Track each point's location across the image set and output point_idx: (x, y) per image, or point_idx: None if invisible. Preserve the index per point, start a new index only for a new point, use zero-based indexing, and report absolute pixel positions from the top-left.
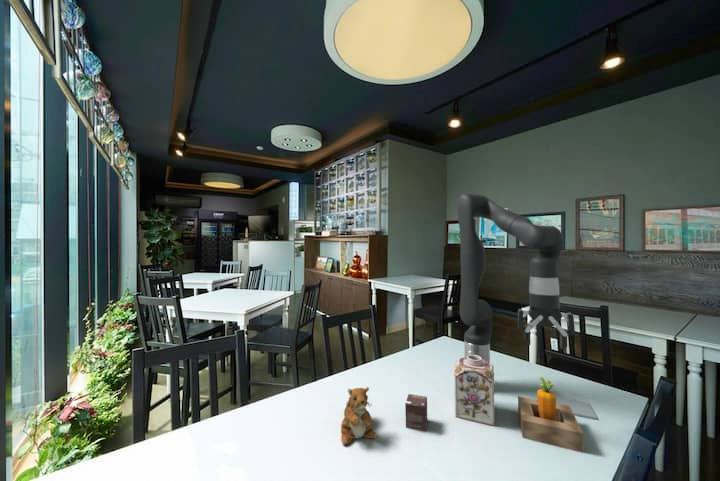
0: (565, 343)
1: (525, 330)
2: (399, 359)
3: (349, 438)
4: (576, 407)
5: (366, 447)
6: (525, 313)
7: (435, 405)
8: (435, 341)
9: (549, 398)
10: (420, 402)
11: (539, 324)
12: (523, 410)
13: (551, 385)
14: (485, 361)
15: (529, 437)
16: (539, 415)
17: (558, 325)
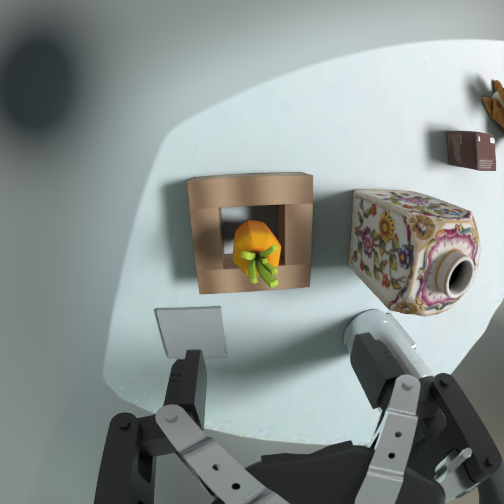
0: (178, 375)
1: (415, 382)
2: (466, 342)
3: (497, 85)
4: (187, 332)
5: (481, 81)
6: (454, 478)
7: None
8: None
9: (252, 231)
10: (482, 144)
11: (353, 450)
12: (305, 222)
13: (247, 252)
14: (423, 300)
15: (290, 172)
16: None
17: (209, 472)
